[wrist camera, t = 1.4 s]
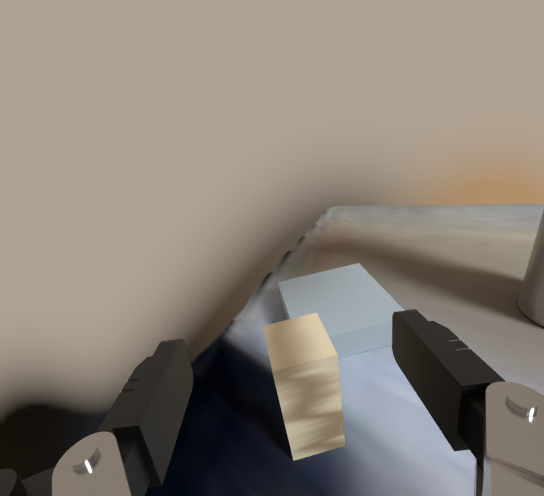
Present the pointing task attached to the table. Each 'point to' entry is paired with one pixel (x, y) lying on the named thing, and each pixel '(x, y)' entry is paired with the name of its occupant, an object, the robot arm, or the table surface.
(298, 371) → the beech block
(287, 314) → the base
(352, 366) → the table surface
